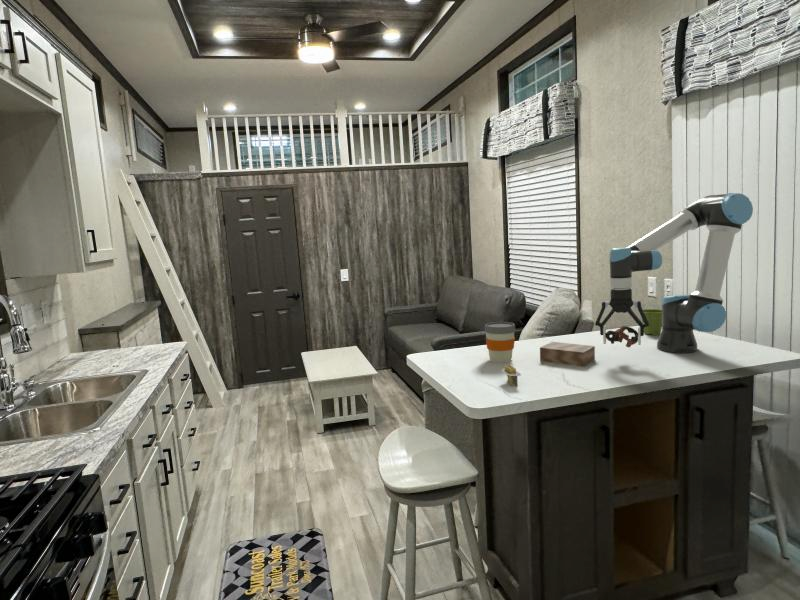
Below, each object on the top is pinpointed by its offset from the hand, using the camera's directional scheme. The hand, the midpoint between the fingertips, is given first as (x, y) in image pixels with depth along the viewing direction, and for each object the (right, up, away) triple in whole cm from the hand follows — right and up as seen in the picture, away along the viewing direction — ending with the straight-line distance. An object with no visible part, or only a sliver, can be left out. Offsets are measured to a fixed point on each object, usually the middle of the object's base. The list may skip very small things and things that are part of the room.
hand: (621, 343), depth 202 cm
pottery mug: (0, -1, +1) cm, 2 cm away
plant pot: (+36, 0, +50) cm, 62 cm away
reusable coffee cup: (-44, -8, +17) cm, 48 cm away
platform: (-47, -13, -16) cm, 51 cm away
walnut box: (-18, -8, +10) cm, 22 cm away
